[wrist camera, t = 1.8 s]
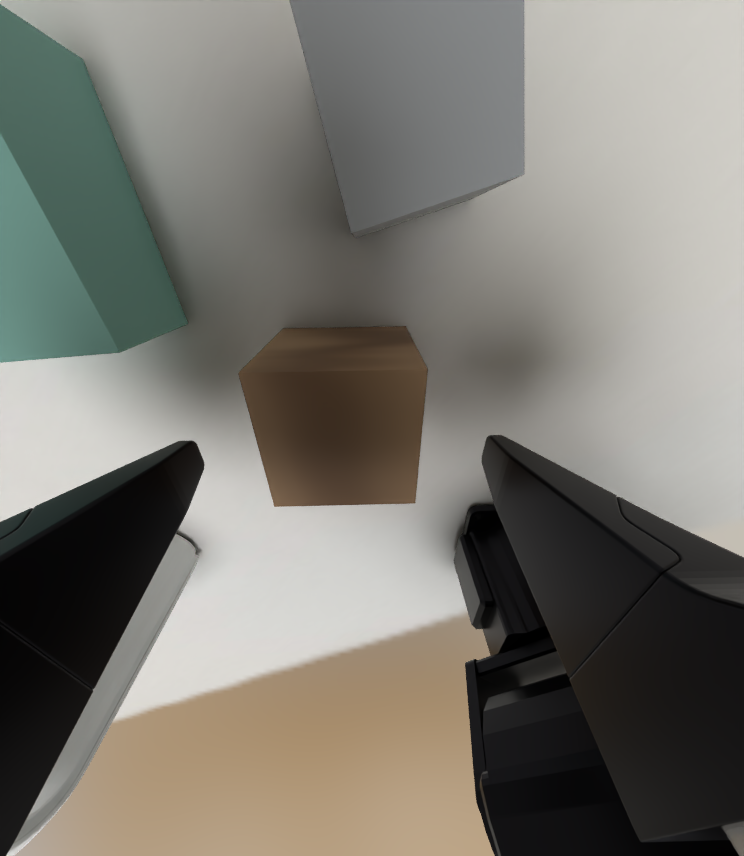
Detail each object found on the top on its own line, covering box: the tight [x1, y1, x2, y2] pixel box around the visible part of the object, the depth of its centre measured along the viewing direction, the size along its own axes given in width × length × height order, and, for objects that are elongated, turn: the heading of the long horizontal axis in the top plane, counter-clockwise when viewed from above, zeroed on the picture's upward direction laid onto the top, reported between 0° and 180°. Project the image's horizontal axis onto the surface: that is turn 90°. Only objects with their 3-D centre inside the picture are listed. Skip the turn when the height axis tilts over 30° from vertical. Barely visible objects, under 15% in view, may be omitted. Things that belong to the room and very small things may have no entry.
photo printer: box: [6, 534, 199, 856], centre depth 15 cm, size 10×4×12 cm, turn 126°
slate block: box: [290, 0, 524, 238], centre depth 7 cm, size 4×4×4 cm
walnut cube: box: [238, 326, 428, 507], centre depth 11 cm, size 5×5×5 cm
